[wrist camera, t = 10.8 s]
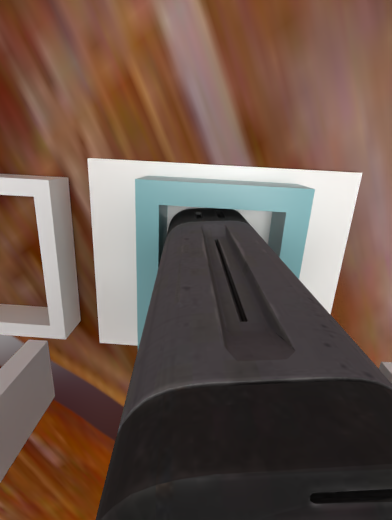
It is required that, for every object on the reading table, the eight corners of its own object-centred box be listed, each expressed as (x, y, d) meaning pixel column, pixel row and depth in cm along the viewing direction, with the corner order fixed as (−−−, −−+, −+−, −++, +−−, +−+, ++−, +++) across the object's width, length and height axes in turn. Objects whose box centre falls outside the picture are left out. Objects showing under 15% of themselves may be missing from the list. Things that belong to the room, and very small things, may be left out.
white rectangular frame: (-23, 313, 28) (-50, 330, 25) (-54, 170, 24) (-91, 172, 21) (80, 320, 28) (65, 339, 25) (68, 177, 23) (48, 180, 20)
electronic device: (243, 314, 25) (403, 774, 7) (173, 317, 25) (135, 792, 6) (246, 205, 22) (573, 493, 3) (167, 208, 22) (53, 520, 3)
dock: (103, 336, 28) (81, 372, 23) (92, 158, 23) (61, 158, 18) (316, 351, 27) (338, 392, 23) (355, 172, 22) (394, 176, 17)
